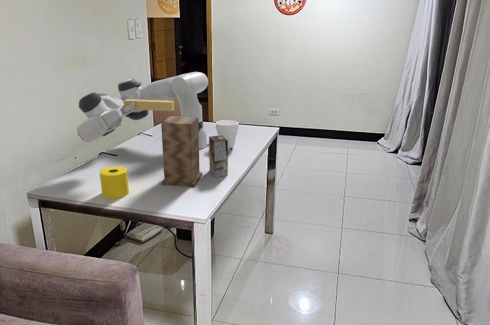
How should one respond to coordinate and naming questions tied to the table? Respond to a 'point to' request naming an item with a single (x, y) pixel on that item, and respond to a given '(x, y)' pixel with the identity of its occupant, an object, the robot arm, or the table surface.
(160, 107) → the bar
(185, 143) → the stand
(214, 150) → the coffee box
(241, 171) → the table surface
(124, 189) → the yellow toilet paper roll
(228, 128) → the cup
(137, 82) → the robot arm
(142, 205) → the table surface
